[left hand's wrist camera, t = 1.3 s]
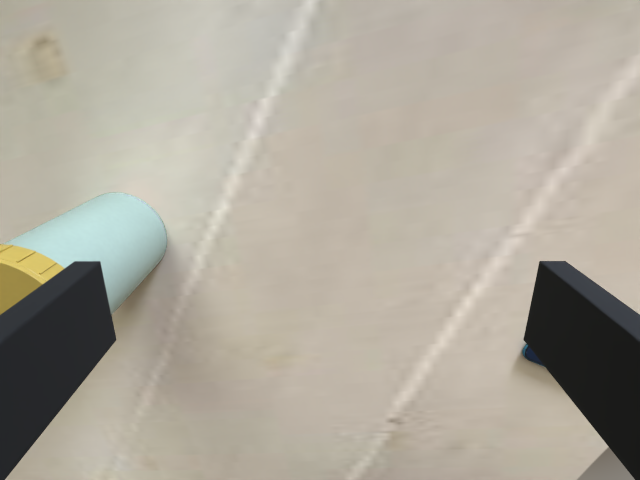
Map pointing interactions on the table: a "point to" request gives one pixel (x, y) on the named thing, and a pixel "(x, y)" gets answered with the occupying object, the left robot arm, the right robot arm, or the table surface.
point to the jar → (104, 241)
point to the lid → (22, 273)
